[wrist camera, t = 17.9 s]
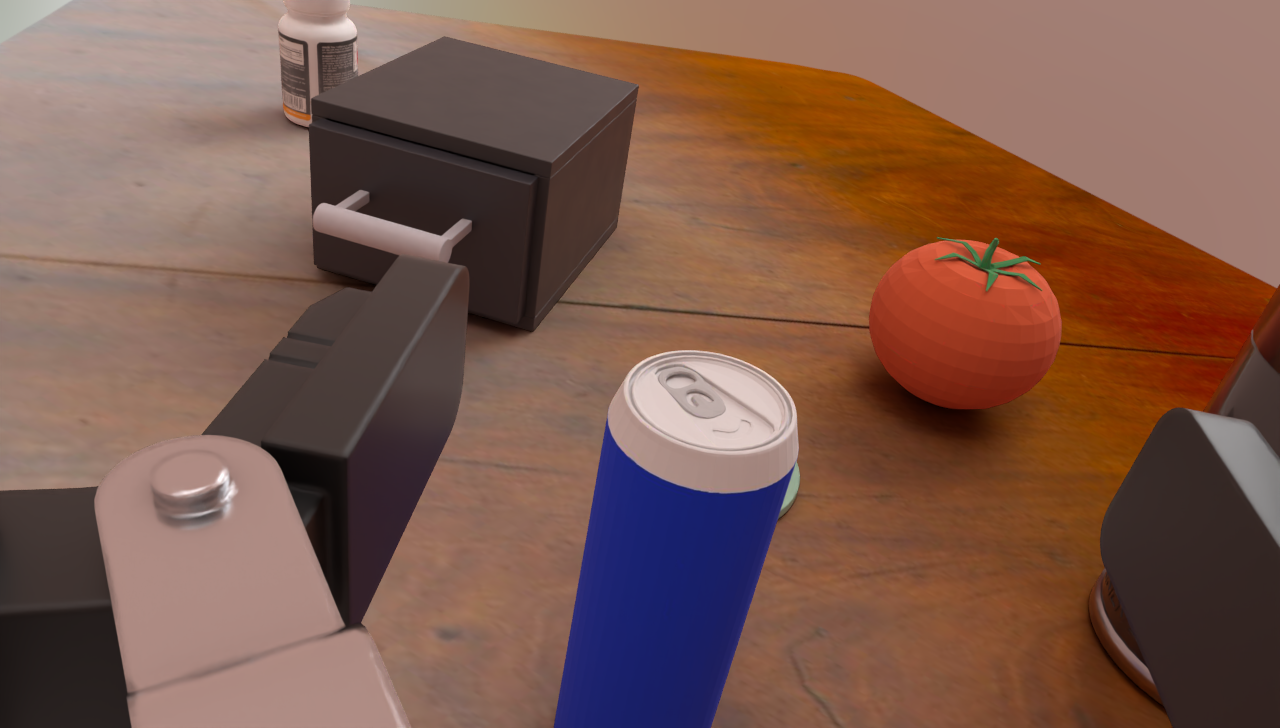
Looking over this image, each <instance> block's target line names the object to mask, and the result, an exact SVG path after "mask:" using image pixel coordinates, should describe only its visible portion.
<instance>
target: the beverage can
mask: <svg viewBox="0 0 1280 728" xmlns="http://www.w3.org/2000/svg"><path fill="white" fill-rule="evenodd" d="M798 450H799V445H798V431H797V414H796V408H795V405H794V402H793V400H792V398H791V397H790V395H789V393H788V392H787V391H786V390H785V388H784V387H783V386H782V385H781V384H780V383H779V382H778V381H776V380H775V379H774V378H773V377H771V376H770V375H769V374H767V373H766V372H764V371H762V370H761V369H759V368H757V367H755V366H753V365H751V364H749V363H747V362H744V361H742V360H739V359H736V358H733V357H730V356H726V355H722V354H718V353H712V352H706V351H694V350H687V351H672V352H666V353H661V354H657V355H655V356H652V357H649V358H647V359H645V360H643V361H641V362H640V363H639V364H637V365H636V366H635V367H633V369H632V370H631V371H630V372H629V373H628V375H627V376H626V378H625V380H624V381H623V383H622V385H621V386H620V388H619V390H618V391H617V393H616V395H615V396H614V398H613V400H612V402H611V404H610V406H609V410H608V416H607V421H606V427H605V433H604V439H603V445H602V450H601V456H600V462H599V468H598V474H597V479H596V485H595V491H594V497H593V503H592V508H591V514H590V520H589V526H588V532H587V537H586V543H585V549H584V555H583V561H582V566H581V572H580V578H579V584H578V590H577V595H576V601H575V607H574V613H573V619H572V624H571V630H570V636H569V642H568V648H567V653H566V659H565V665H564V671H563V677H562V682H561V688H560V694H559V700H558V706H557V711H556V717H555V723H554V728H711V725H712V722H713V719H714V716H715V713H716V710H717V707H718V704H719V700H720V697H721V694H722V691H723V688H724V685H725V682H726V679H727V676H728V672H729V669H730V666H731V663H732V660H733V657H734V654H735V651H736V647H737V644H738V641H739V638H740V635H741V632H742V629H743V626H744V623H745V619H746V616H747V613H748V610H749V607H750V604H751V601H752V598H753V595H754V591H755V588H756V585H757V582H758V579H759V576H760V573H761V570H762V567H763V563H764V560H765V557H766V554H767V551H768V548H769V545H770V542H771V539H772V535H773V532H774V529H775V526H776V523H777V520H778V517H779V514H780V510H781V507H782V504H783V501H784V498H785V495H786V492H787V489H788V486H789V482H790V479H791V476H792V473H793V470H794V467H795V464H796V461H797V457H798Z"/></svg>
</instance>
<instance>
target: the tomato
mask: <svg viewBox="0 0 1280 728" xmlns="http://www.w3.org/2000/svg"><path fill="white" fill-rule="evenodd" d="M937 238H938V239H942V240H947V241H941V242H937V243H932V244H928V245H925V246H922V247H920V248H917V249H915V250H912V251H910V252H909V253H907V254H906V255H905V256H903V257H902V258H901V259H899V260H898V261H897V262H896V263H894V264H893V265H892V266H891V268H890V269H889V270H888V271H887V273H886V274H885V275H884V276H883V278H882V279H881V281H880V282H879V284H878V287H877V289H876V291H875V293H874V295H873V298H872V303H871V308H870V315H869V326H870V335H871V339H872V342H873V345H874V349H875V352H876V354H877V356H878V358H879V359H880V361H881V363H882V364H883V366H884V367H885V369H886V371H887V372H888V373H889V374H890V375H891V376H892V377H893V378H894V379H895V380H896V381H897V382H898V383H899V384H900V385H901V386H902V387H904V388H905V389H906V390H907V391H909V392H910V393H912V394H913V395H915V396H916V397H918V398H920V399H922V400H924V401H927V402H929V403H932V404H935V405H938V406H942V407H945V408H951V409H986V408H990V407H994V406H998V405H1001V404H1005V403H1008V402H1010V401H1012V400H1014V399H1015V398H1017V397H1019V396H1021V395H1022V394H1024V393H1026V392H1028V391H1029V390H1030V389H1031V388H1032V387H1034V386H1035V385H1036V384H1037V383H1038V382H1039V381H1040V380H1041V379H1042V378H1043V376H1044V375H1045V374H1046V372H1047V371H1048V369H1049V368H1050V366H1051V365H1052V363H1053V361H1054V360H1055V357H1056V353H1057V350H1058V347H1059V344H1060V339H1061V326H1062V322H1061V317H1060V311H1059V306H1058V302H1057V299H1056V298H1055V296H1054V294H1053V292H1052V291H1051V289H1050V287H1049V285H1048V284H1047V282H1046V280H1045V279H1044V278H1043V277H1042V276H1041V275H1040V274H1039V273H1038V272H1037V271H1036V270H1035V269H1034V268H1033V267H1032V266H1030V265H1029V264H1028V263H1027V262H1026V261H1030V262H1033V263H1036V264H1039V265H1040V263H1038V262H1036V261H1034V260H1032V259H1029V258H1027V257H1025V256H1023V257H1018V256H1017V255H1014V254H1012V253H1010V252H1008V251H1006V250H1003V249H1001V248H999V247H997V245H998V243H999V241H998V240H999V239H997V238H994V240H993V241H992V243H991V244H990V245H988V244H985V243H982V242H977V241H971V240H951V239H945V238H939V237H937Z"/></svg>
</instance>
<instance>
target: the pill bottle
mask: <svg viewBox="0 0 1280 728" xmlns="http://www.w3.org/2000/svg"><path fill="white" fill-rule="evenodd" d="M283 2H284V4H285V6H286V7H287V8H288V13H286V14H285V15H284V16H283V17H282V18H281V19H280V21H279V25H278V31H279V46H280V59H281V81H282V95H283V108H284V113H285V115H286V117H287V118H288V119H289V120H291V121H292V122H294V123H296V124H298V125H302V126H305V127H309V124H311V123H312V115H313V114H311V98H313V97H315V96H317V95H319V94H321V93H324V92H326V91H328V90H330V89H332V88H334V87H337V86H339V85H341V84H343V83H345V82H347V81H349V80H352V79H354V78H356V77H358V53H357V30H356V27H355V25H354V24H353V22H352V21H351V20H350V19H348V18H347V12H348V10H349V8H350V0H283Z"/></svg>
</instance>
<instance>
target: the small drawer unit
mask: <svg viewBox="0 0 1280 728" xmlns="http://www.w3.org/2000/svg"><path fill="white" fill-rule="evenodd" d="M638 88H639V85H637V84H633V83H629V82H625V81H621V80H617V79H613V78H609V77H605V76H601V75H597V74H593V73H589V72H585V71H581V70H577V69H573V68H569V67H565V66H561V65H557V64H553V63H549V62H545V61H541V60H537V59H533V58H529V57H525V56H521V55H517V54H513V53H509V52H505V51H501V50H497V49H493V48H489V47H485V46H481V45H477V44H473V43H469V42H465V41H461V40H457V39H453V38H449V37H442V38H440V39H438V40H436V41H434V42H431V43H429V44H427V45H425V46H423V47H421V48H418V49H416V50H414V51H412V52H410V53H408V54H406V55H403V56H401V57H399V58H397V59H395V60H393V61H390V62H388V63H386V64H384V65H382V66H380V67H378V68H375V69H373V70H371V71H369V72H367V73H365V74H362V75H360V76H358V77H356V78H354V79H352V80H349V81H347V82H345V83H343V84H341V85H339V86H337V87H334V88H332V89H330V90H328V91H326V92H324V93H321V94H319V95H317V96H315V97H313V98H311V114H313V115H312V123H313V122H315V121H317V120H319V119H325V120H329V121H332V122H336V123H340V124H344V125H347V126H349V124H350V125H354V126H358V127H361V128H365V129H369V130H372V131H376V132H380V133H383V134H387V135H391V136H395V137H398V138H402V139H406V140H409V141H413V142H417V143H421V144H424V145H428V146H432V147H435V148H439V149H443V150H447V151H450V152H454V153H458V154H461V155H465V156H469V157H473V158H476V159H480V160H484V161H487V162H491V163H495V164H499V165H502V166H506V167H510V168H513V169H517V170H521V171H524V172H528V173H532V174H535V175H534V176H536V177H539V180H538V189H537V199H536V209H535V218H534V228H533V238H532V247H531V257H530V267H529V276H528V286H527V296H526V305H525V315H524V316H523V317H522V318H521V320H520V321H519V322H518V323H517V324H513V323H510V322H507V321H503V320H500V319H497V318H493V317H490V316H486V315H483V314H480V313H476V312H473V311H470V310H468V313H472V314H475V315H479V316H482V317H485V318H489V319H492V320H495V321H499V322H502V323H505V324H509V325H512V326H516V327H519V328H522V329H526V330H529V331H534V330H535V329H536V327H537V326H538V325H539V324H540V322H541V321H542V320H543V319H544V317H545V316H546V315H547V314H548V312H549V311H550V310H551V309H552V307H553V306H554V305H555V304H556V302H557V301H558V300H559V299H560V297H561V296H562V295H563V294H564V292H565V291H566V290H567V289H568V287H569V286H570V285H571V284H572V282H573V281H574V280H575V279H576V277H577V276H578V275H579V274H580V272H581V271H582V270H583V269H584V267H585V266H586V265H587V264H588V262H589V261H590V260H591V259H592V258H593V256H594V255H595V254H596V253H597V251H598V250H599V249H600V248H601V246H602V245H603V244H604V243H605V241H606V240H607V239H608V238H609V236H610V235H611V234H612V233H613V231H614V230H615V229H616V228H617V221H618V215H619V208H620V202H621V196H622V189H623V183H624V177H625V170H626V164H627V158H628V151H629V145H630V138H631V132H632V126H633V119H634V113H635V107H636V100H637V99H636V98H637V94H638ZM317 268H320V269H324V270H327V271H331V272H334V273H337V274H341V275H344V276H347V277H351V278H354V279H357V280H361V281H364V282H368V283H371V284H374V285H377V284H378V283H375V282H372V281H369V280H365V279H362V278H358V277H355V276H352V275H348V274H345V273H342V272H338V271H335V270H331V269H328V268H325V267H321V266H318V265H317Z"/></svg>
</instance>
